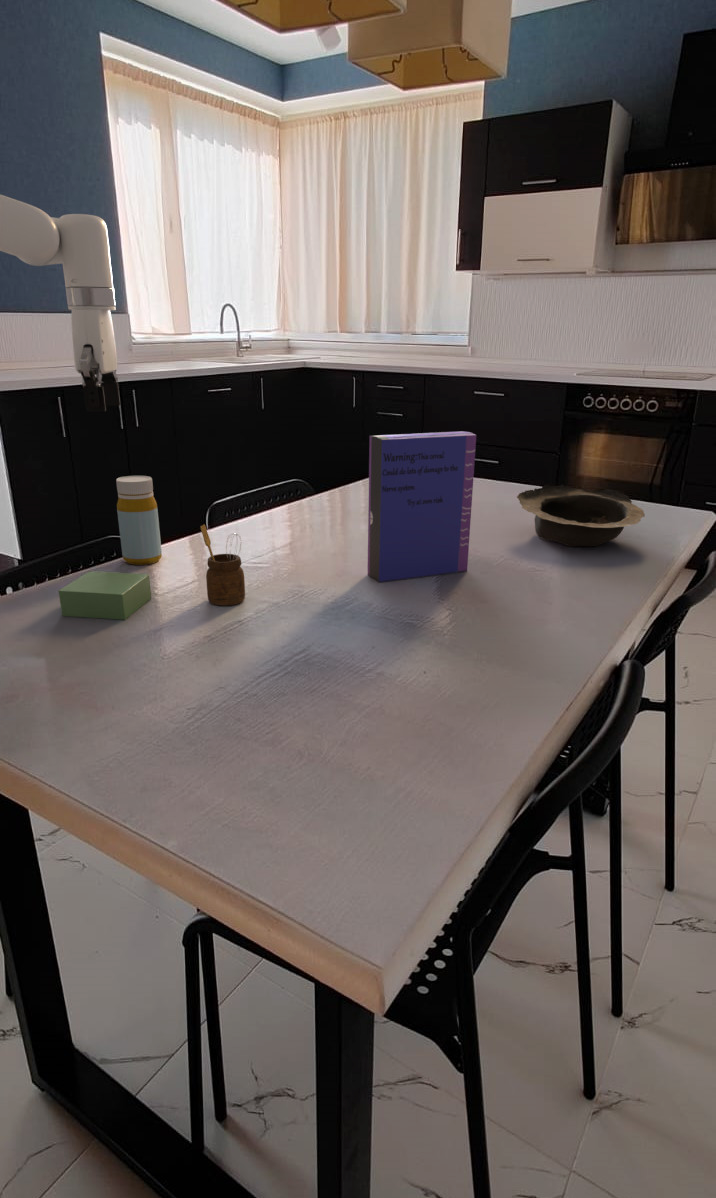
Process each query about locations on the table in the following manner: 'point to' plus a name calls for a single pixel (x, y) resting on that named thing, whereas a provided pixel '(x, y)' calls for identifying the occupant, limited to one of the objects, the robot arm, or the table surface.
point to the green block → (105, 595)
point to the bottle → (138, 520)
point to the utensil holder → (224, 576)
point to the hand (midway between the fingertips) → (104, 408)
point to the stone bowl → (579, 514)
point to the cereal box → (419, 504)
